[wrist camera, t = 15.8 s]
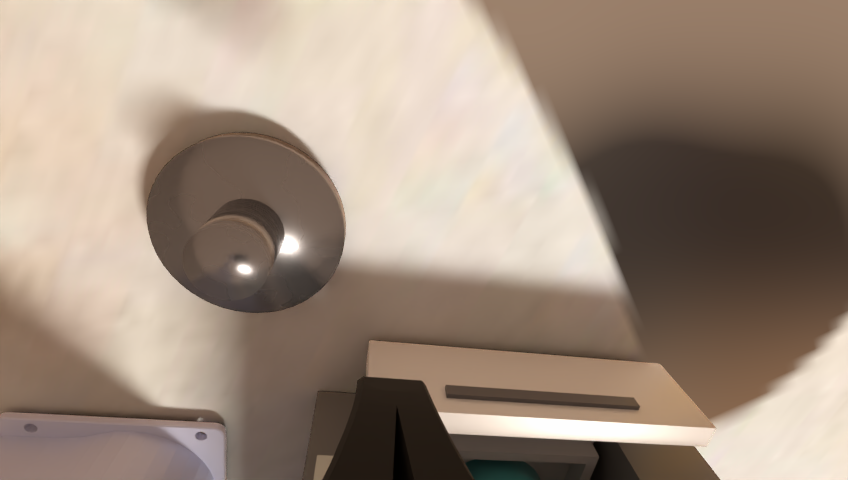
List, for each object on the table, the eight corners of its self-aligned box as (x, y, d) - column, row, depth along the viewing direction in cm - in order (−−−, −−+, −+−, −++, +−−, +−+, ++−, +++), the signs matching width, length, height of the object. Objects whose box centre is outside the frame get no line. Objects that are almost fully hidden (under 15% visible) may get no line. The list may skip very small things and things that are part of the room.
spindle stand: (162, 293, 18) (116, 347, 15) (150, 118, 15) (90, 137, 12) (337, 309, 19) (329, 362, 16) (354, 147, 16) (348, 172, 13)
